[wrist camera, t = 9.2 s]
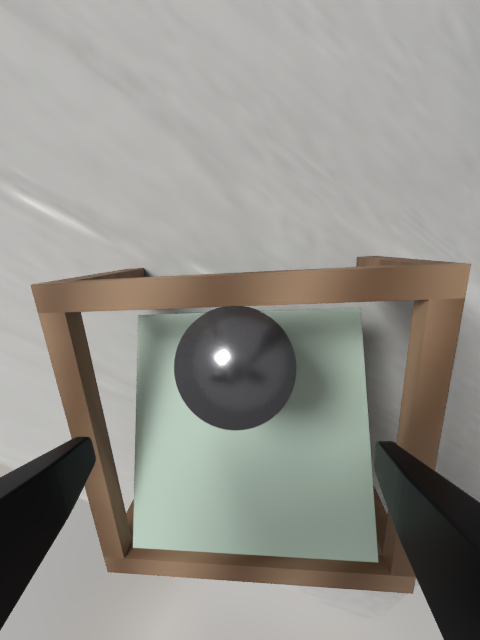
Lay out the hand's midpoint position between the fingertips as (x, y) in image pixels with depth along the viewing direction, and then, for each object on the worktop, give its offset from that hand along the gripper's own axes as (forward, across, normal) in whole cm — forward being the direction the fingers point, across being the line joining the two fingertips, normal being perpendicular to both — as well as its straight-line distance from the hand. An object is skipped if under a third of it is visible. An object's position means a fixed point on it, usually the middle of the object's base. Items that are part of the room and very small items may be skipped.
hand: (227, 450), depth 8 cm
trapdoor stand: (+12, 0, +4) cm, 13 cm away
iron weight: (+8, 0, 0) cm, 8 cm away
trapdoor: (+8, 0, +5) cm, 9 cm away
